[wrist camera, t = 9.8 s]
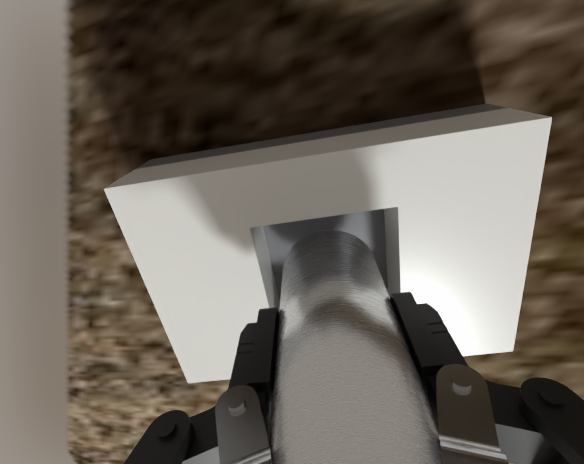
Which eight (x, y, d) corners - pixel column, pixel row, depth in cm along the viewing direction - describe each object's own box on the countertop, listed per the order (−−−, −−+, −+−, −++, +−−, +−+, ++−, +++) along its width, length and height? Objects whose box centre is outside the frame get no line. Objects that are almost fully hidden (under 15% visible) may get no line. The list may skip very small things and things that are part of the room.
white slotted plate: (486, 103, 17) (552, 117, 13) (470, 293, 22) (513, 351, 18) (150, 159, 19) (103, 188, 14) (209, 323, 24) (188, 383, 19)
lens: (372, 223, 15) (482, 461, 6) (377, 302, 17) (466, 571, 8) (275, 237, 16) (240, 479, 6) (291, 313, 18) (282, 580, 8)
